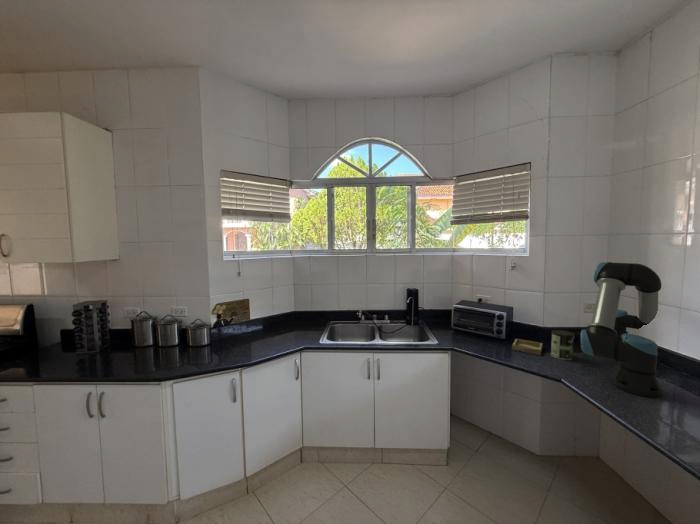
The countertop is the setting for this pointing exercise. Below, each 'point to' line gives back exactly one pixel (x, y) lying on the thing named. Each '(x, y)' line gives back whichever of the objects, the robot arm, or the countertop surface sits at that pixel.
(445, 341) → the countertop surface
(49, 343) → the countertop surface
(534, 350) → the oak bay tray
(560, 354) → the coffee can
